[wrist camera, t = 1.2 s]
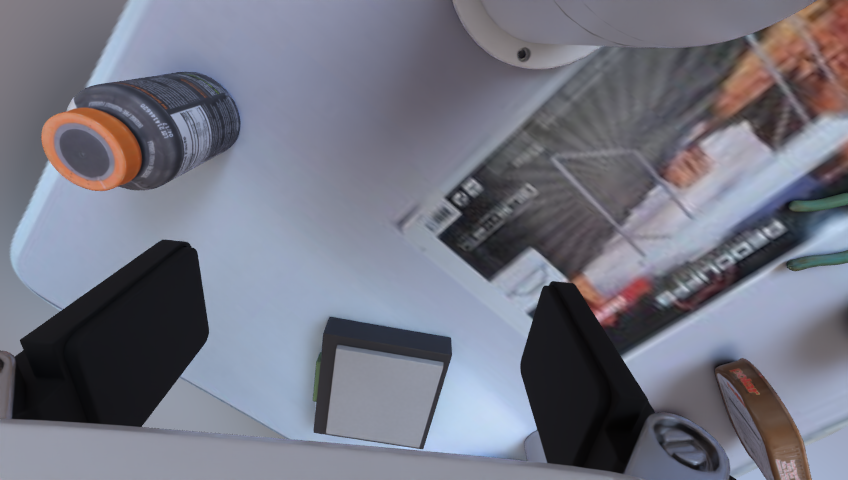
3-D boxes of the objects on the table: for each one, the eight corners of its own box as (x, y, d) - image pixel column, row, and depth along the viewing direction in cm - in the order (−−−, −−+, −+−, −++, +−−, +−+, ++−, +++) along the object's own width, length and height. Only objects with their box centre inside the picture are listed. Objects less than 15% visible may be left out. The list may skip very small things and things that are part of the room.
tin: (760, 431, 43) (827, 513, 36) (730, 440, 44) (790, 522, 37) (733, 339, 38) (807, 414, 30) (699, 351, 38) (762, 426, 31)
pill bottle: (145, 106, 29) (-8, 142, 19) (194, 52, 27) (53, 60, 17) (210, 168, 31) (102, 230, 21) (259, 121, 29) (166, 164, 19)
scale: (324, 315, 38) (315, 336, 35) (451, 337, 38) (452, 359, 36) (314, 413, 44) (307, 437, 41) (423, 430, 45) (422, 454, 42)
